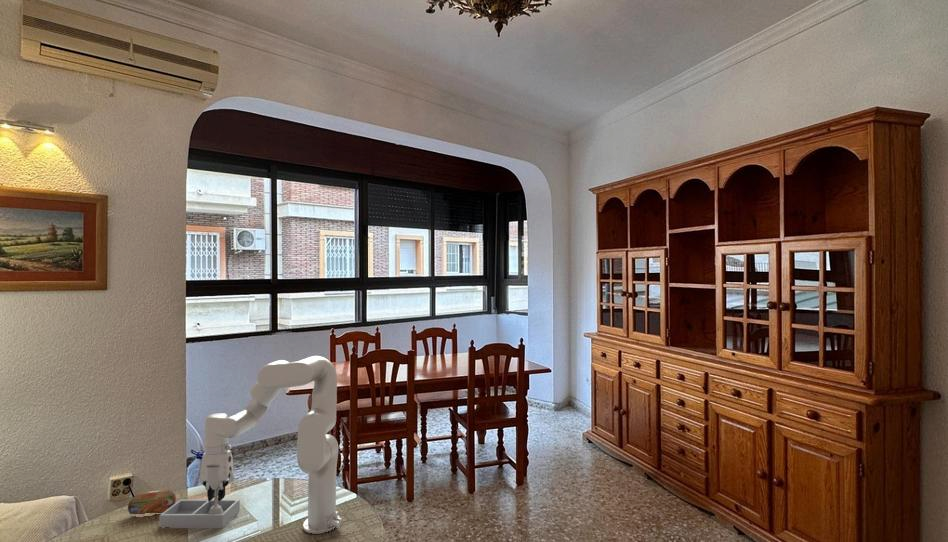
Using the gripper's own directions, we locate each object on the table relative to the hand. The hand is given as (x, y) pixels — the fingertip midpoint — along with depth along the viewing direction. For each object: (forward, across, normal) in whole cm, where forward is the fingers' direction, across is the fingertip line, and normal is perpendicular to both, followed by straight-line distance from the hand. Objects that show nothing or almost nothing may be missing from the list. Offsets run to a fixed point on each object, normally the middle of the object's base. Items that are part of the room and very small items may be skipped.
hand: (216, 498), depth 168 cm
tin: (+8, +26, -4) cm, 28 cm away
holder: (+7, +6, 0) cm, 9 cm away
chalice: (+5, 0, 0) cm, 5 cm away
